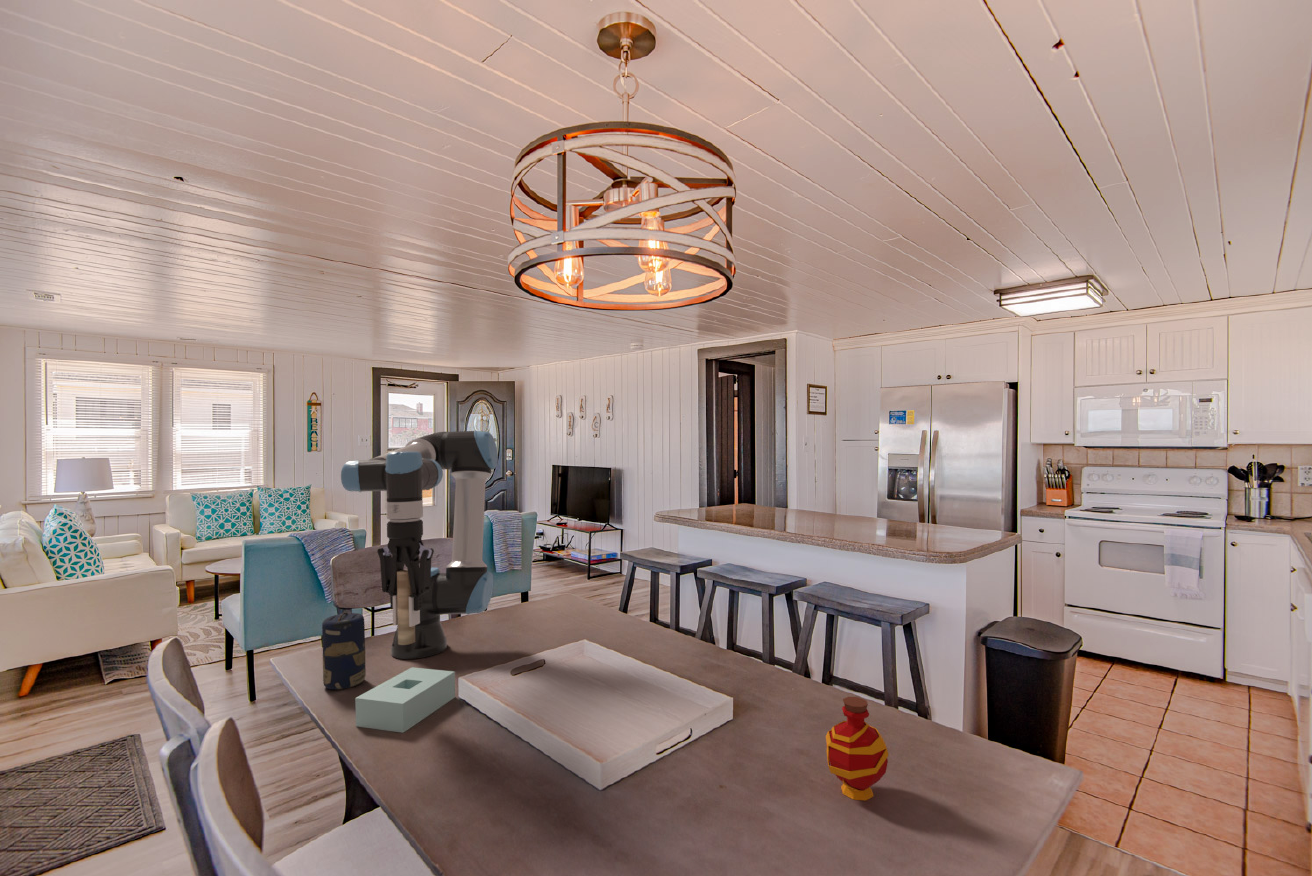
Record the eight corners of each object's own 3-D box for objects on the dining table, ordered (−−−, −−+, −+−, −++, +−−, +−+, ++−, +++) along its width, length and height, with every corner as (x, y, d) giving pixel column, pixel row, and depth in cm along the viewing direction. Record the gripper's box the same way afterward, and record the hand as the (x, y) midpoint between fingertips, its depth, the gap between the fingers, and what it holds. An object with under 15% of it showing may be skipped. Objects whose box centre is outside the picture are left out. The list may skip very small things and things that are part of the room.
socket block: (412, 692, 146) (411, 667, 146) (455, 697, 142) (454, 671, 142) (355, 726, 128) (355, 698, 128) (403, 732, 125) (402, 703, 125)
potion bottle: (883, 817, 94) (881, 720, 94) (817, 797, 99) (815, 706, 100) (896, 784, 103) (894, 696, 103) (835, 768, 108) (833, 684, 108)
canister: (373, 677, 156) (372, 607, 156) (351, 692, 146) (350, 618, 146) (338, 677, 156) (337, 607, 157) (314, 692, 147) (313, 618, 147)
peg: (405, 639, 138) (404, 569, 138) (418, 640, 137) (417, 569, 137) (394, 644, 134) (393, 572, 134) (408, 645, 133) (406, 572, 133)
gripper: (362, 521, 134) (363, 626, 134) (425, 522, 130) (427, 631, 129) (386, 517, 142) (387, 617, 141) (447, 518, 137) (448, 621, 137)
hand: (406, 624), depth 135 cm, fingers closed on peg, 3 cm apart
